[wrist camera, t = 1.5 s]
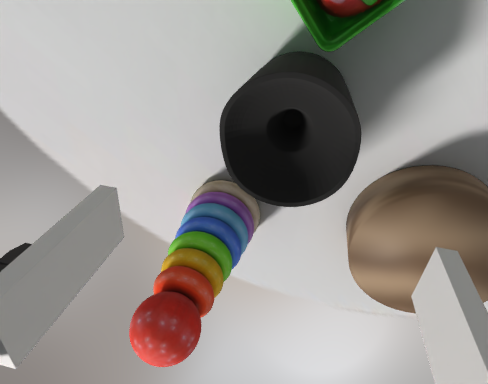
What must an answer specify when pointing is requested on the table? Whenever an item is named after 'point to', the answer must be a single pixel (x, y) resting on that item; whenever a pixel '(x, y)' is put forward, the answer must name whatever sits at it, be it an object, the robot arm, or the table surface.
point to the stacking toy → (194, 272)
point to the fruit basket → (340, 18)
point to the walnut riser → (416, 230)
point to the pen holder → (291, 131)
